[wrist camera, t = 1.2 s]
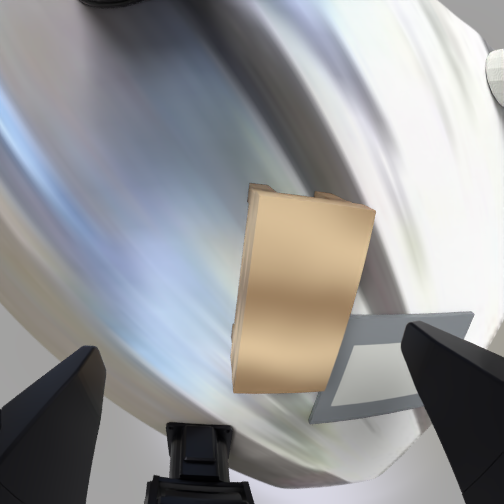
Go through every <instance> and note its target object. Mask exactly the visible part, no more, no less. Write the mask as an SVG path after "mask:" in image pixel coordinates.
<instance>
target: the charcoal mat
mask: <svg viewBox="0 0 504 504" xmlns="http://www.w3.org/2000/svg"><path fill="white" fill-rule="evenodd" d="M473 317H474V313H473V312H453V313H430V314H394V315H350V317H349V320H348V324H347V327H346V330H345V333H344V336H343V340H342V343H341V346H340V349H339V352H338V355H337V358H336V361H335V364H334V366H333V369H332V372H331V375H330V378H329V380H328V383H327V386H326V389H325V391H320V392H319V393H318V396H317V399H316V402H315V404H314V407H313V409H312V412H311V415H310V417H309V420H308V421H309V424H319V423H328V422H337V421H345V420H352V419H359V418H366V417H372V416H378V415H383V414H389V413H394V412H399V411H403V410H408V409H413V408H417V407H421V406H424V405H423V403H422V401H421V399H420V397H419V395H418V392H417V390H416V388H415V385H414V383H413V380H412V378H411V375H410V372H409V370H408V367H407V364H406V362H405V359H404V357H403V354H402V352H401V341H402V338H403V334H404V331H405V327H406V325H407V323H409V322H412V321H417V320H420V321H423V322H425V323H427V324H430V325H432V326H434V327H436V328H439V329H441V330H443V331H445V332H448V333H450V334H452V335H455V336H457V337H459V338H461V339H464V337H465V335H466V333H467V331H468V329H469V326H470V324H471V322H472V319H473Z"/></svg>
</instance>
